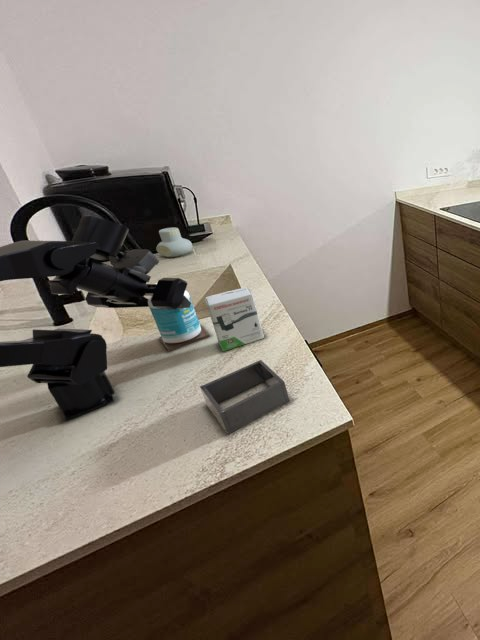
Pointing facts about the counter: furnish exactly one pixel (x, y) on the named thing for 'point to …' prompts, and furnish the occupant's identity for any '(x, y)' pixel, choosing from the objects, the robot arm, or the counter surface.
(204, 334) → the trivet
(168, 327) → the pill bottle
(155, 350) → the counter surface
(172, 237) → the air freshener
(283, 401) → the sink basin
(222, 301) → the ink box
